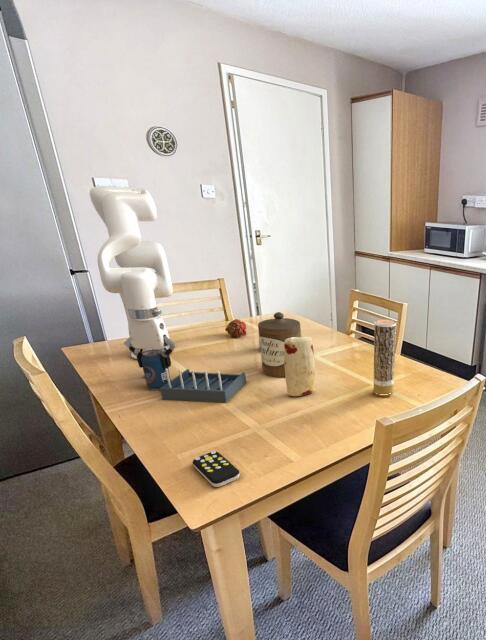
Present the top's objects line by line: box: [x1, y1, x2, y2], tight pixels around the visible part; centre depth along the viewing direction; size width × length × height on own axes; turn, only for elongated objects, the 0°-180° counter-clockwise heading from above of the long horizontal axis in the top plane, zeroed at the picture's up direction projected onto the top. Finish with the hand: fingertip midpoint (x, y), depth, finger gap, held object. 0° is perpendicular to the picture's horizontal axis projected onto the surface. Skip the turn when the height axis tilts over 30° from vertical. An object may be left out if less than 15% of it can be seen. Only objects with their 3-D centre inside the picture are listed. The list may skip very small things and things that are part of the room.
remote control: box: [192, 450, 241, 488], centre depth 95 cm, size 6×13×2 cm, turn 48°
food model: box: [284, 336, 316, 397], centre depth 132 cm, size 10×7×20 cm
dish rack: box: [159, 368, 247, 403], centre depth 133 cm, size 16×20×10 cm
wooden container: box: [257, 311, 302, 378], centre depth 150 cm, size 15×15×22 cm
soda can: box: [141, 350, 172, 391], centre depth 133 cm, size 7×7×12 cm
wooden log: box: [373, 319, 397, 398], centre depth 135 cm, size 7×7×25 cm
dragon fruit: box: [225, 318, 247, 338], centre depth 186 cm, size 8×8×12 cm
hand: (155, 366), depth 132 cm, fingers closed on soda can, 7 cm apart
